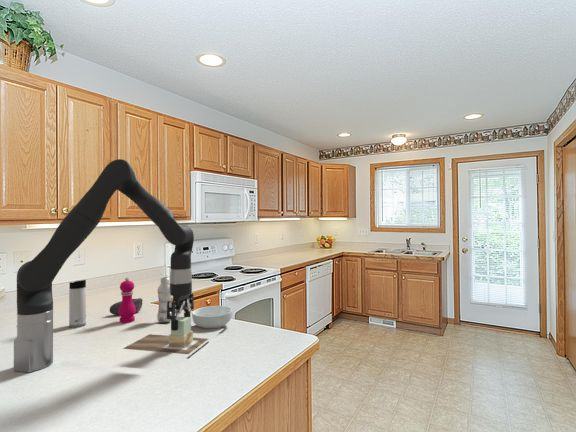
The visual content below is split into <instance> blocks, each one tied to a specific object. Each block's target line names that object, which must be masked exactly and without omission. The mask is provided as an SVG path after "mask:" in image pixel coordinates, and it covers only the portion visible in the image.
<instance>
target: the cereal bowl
mask: <svg viewBox="0 0 576 432" xmlns="http://www.w3.org/2000/svg"><path fill="white" fill-rule="evenodd" d="M191 315H192V317H191V319H192V321H193V323H194V325H196V326H197V327H199V328H203V329H220V328H222V327H224V326H225V325H227V324H228V323H230V321H231V319H232V316H233V309H232V308H231V307H229V306H226V305H212V306H203V307H199V308H196V309H193V311H191Z"/></svg>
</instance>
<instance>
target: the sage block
mask: <svg viewBox="0 0 576 432" xmlns="http://www.w3.org/2000/svg"><path fill="white" fill-rule="evenodd" d="M190 331H192V317H191V316H190V317H184V316H178V330H177V331H172V330H171V329H170V334H171V335H180V336H184V335H186V334H187V333H189V332H190Z"/></svg>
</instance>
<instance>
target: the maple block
mask: <svg viewBox="0 0 576 432" xmlns="http://www.w3.org/2000/svg"><path fill="white" fill-rule="evenodd" d="M168 336H169V347H179V348H185V347H186V346H188V345H189V344H191V343H192V342H193V338H194V331H193V330H191V331H190V332H189V333H187V334H186V335H184V336H180V335H171V333H170V334H168Z"/></svg>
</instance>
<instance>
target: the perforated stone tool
mask: <svg viewBox="0 0 576 432" xmlns="http://www.w3.org/2000/svg"><path fill="white" fill-rule="evenodd" d="M132 301H133V303H134V306H135V308H136V313H139V312H140V311H141V309H142V307H143V299H142V298H140V297H139V298H132ZM121 303H122V300H120V301H117V302H114V303H113V304H112V305H111V306H110V307H109V313H110V314H112V315H114V316H115V315H116V316H120V315H119V314H118V312H119V308H120V306H121Z"/></svg>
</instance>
